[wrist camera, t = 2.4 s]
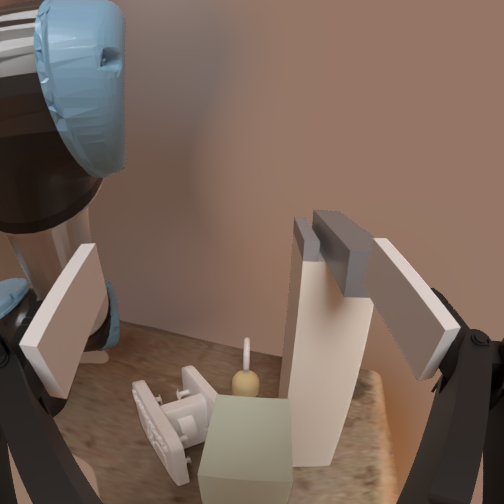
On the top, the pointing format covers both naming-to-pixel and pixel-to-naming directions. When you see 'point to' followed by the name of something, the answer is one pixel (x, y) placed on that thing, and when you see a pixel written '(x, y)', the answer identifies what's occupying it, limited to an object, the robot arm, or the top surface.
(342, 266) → the bar
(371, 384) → the top surface
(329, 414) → the socket tower
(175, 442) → the cable organizer
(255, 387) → the hook
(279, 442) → the shelf
